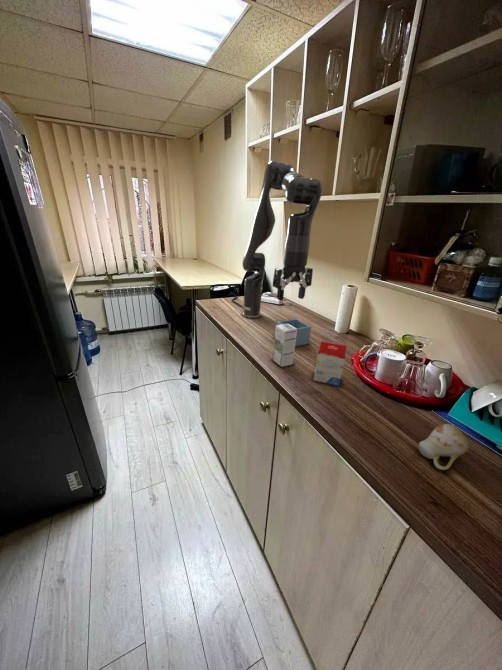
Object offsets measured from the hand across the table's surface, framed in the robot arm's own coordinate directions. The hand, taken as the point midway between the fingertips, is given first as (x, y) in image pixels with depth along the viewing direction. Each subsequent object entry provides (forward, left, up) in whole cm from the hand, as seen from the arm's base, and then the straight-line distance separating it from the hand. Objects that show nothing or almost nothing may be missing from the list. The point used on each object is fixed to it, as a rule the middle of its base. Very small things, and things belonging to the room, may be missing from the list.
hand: (290, 299), depth 93 cm
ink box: (+16, +7, -25) cm, 30 cm away
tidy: (-15, +15, -24) cm, 32 cm away
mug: (+52, +9, -25) cm, 58 cm away
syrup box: (0, 0, -25) cm, 25 cm away
